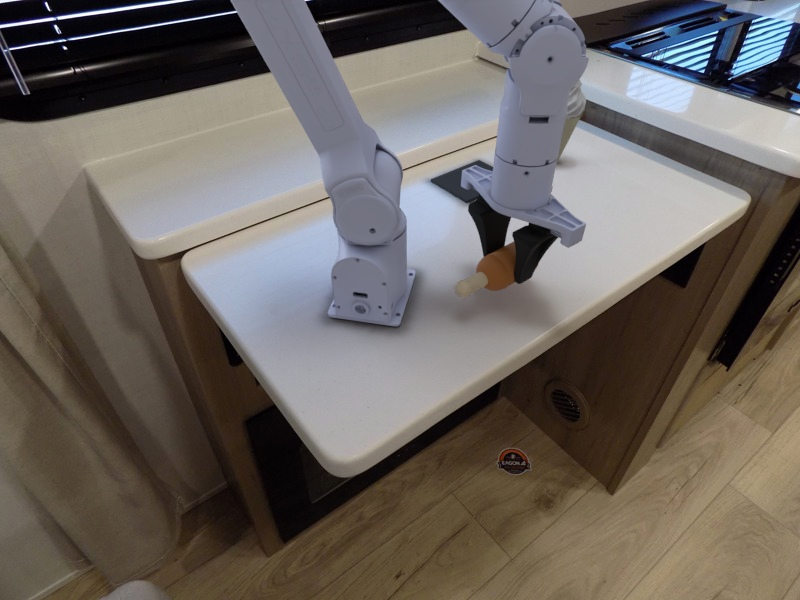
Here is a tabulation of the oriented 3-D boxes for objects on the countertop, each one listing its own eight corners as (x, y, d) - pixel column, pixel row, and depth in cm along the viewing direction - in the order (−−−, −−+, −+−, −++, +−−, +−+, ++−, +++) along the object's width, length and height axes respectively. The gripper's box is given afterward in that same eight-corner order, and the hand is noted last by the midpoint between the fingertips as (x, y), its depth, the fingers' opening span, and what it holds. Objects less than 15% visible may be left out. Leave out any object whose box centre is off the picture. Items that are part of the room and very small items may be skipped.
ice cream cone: (575, 170, 81) (598, 68, 71) (542, 170, 81) (560, 68, 72) (568, 155, 85) (589, 57, 75) (536, 155, 85) (553, 57, 75)
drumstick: (469, 317, 54) (472, 287, 52) (443, 296, 57) (445, 267, 54) (543, 274, 59) (550, 245, 57) (517, 257, 62) (522, 228, 59)
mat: (466, 203, 74) (467, 200, 74) (430, 181, 79) (430, 179, 79) (516, 181, 79) (516, 178, 79) (478, 162, 84) (479, 159, 84)
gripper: (619, 169, 46) (585, 288, 55) (500, 117, 55) (487, 227, 64) (567, 194, 43) (539, 316, 52) (449, 135, 52) (443, 248, 61)
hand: (507, 269), depth 58 cm, fingers closed on drumstick, 4 cm apart
